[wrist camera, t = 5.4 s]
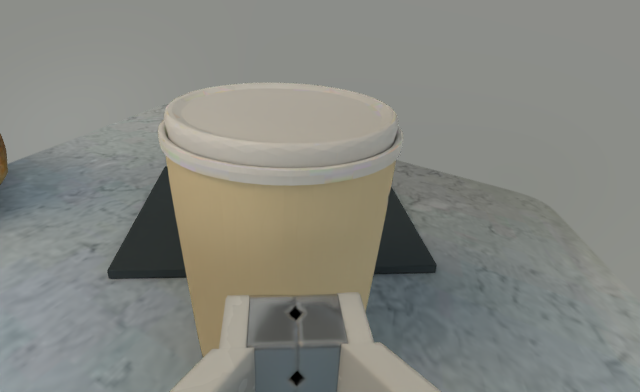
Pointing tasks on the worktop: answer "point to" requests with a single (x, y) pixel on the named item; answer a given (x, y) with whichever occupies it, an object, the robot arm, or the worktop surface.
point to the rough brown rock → (3, 161)
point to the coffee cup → (277, 191)
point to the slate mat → (167, 259)
